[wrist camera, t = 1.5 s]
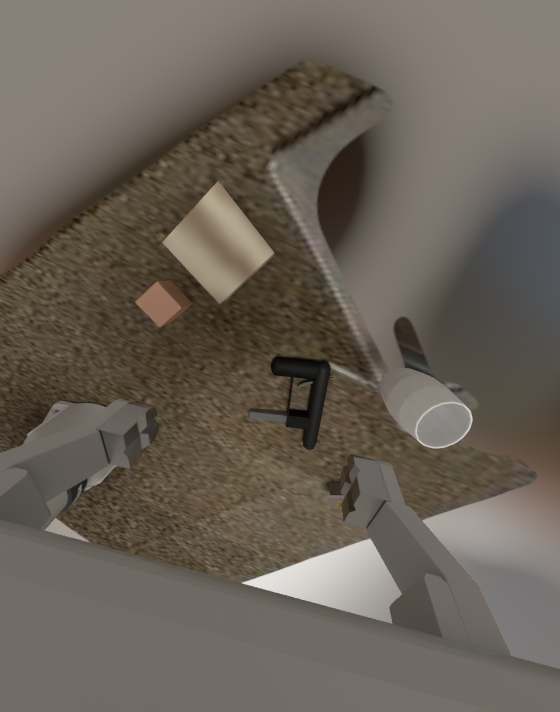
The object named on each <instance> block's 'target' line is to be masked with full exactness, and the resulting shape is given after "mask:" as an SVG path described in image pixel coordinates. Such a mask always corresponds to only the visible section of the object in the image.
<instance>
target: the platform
mask: <svg viewBox="0 0 560 712" xmlns="http://www.w3.org/2000/svg"><path fill="white" fill-rule="evenodd" d="M328 486H329V490H330V494H331V495H329V496H328V498H327V501H328V503H329V504H330V505H331V506H332V507H333V508H334V509H335V510H341V511H342V503H341V502H343V500H344V496H343V495H342V494H341V492H340V483H328ZM339 512H340V511H339ZM340 513H343V512H340Z"/></svg>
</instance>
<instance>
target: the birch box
mask: <svg viewBox="0 0 560 712" xmlns="http://www.w3.org/2000/svg"><path fill="white" fill-rule="evenodd" d="M162 243H163V244H164V245H165V246H166V247H167V248H168V249H169V250H170V252H171V253H172V254H173V255H174V256H175V257H176V258H177V259H178V260H179V261H180V262H181V263H182V264H183V265H184V267H185V268H186V269H187V270H188V271H189V272H190V273H191V274H192V275H193V276H194V277H195V278H196V279H197V280H198V282H199V283H200V284H201V285H202V286H203V287H204V288H205V289H206V290H207V291H208V292H209V293H210V294H211V295H212V297H213V298H214V299H215V300H216V301H217V302H218V303H219V304H221V303H223V302H224V301H226V300H227V299H229V298H230V297H231V296H232V295H233V294H234V293H235V292H236V291H237V290H238V289H239V288H240V287H241V286H242V285H244V284H245V283H246V282H247V281H248V280H249V279H250V278H251V277H252V276H253V275H254V274H255V273H256V272H257V271H259V270H260V269H261V268H262V267H263V266H264V265H265V264H266V263H267V262H268V261H269V260H270V259H271V258H273V257H274V252H273V250H272V249H271V248H270V247H269V245H268V244H267V243H266V241H265V240H264V239H263V238H262V236H261V235H260V234H259V232H258V231H257V230H256V229H255V227H254V226H253V225H252V224H251V222H250V221H249V220H248V218H247V217H246V216H245V215H244V213H243V212H242V211H241V209H240V208H239V207H238V206H237V204H236V203H235V202H234V200H233V199H232V198H231V197H230V195H229V194H228V193H227V191H226V190H225V189H224V188H223V186H222V185H221V184H220V183H219V181H218V182H217V183H216V184H215V185H214V186H213V187H212V188H211V189H210V190H209V192H208V193H207V194H206V195H205V196H204V197H203V198H202V199H201V200H200V201H199V203H198V204H197V205H196V206H195V207H194V208H193V209H192V210H191V211H190V212H189V214H188V215H187V216H186V217H185V218H184V219H183V220H182V221H181V222H180V224H179V225H178V226H177V227H176V228H175V229H174V230H173V231H172V232H171V233H170V235H169V236H168V237H167V238H166V239H165V240H164V241H163V242H162Z"/></svg>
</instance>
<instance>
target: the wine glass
mask: <svg viewBox="0 0 560 712" xmlns="http://www.w3.org/2000/svg"><path fill="white" fill-rule="evenodd" d="M380 391H381V396H382V398H383V401H384V403H385V405H386V407H387V409H388V411H389V413H390V414H391V415H392V416H393V418H394V419H395V420H396V421H397V422H398V423H399V424H400V425H401V427H403V428H404V429H405V430H406V431H407V432H408V433H410V434H411V435H412V436H413V437H414V438H415V439H417V440H418V441H419V442H420V443H421V444H422V445H424V446H427V447H430V448H444V447H447V446H450V445H453V444H455V443H456V442H458V441H459V440H460V439H462V438H463V437H464V436H465V435H466V434H467V432H468V431H469V430H470V427H471V423H472V415H471V411H470V410H469V409H468V408H467V407H466V406H465V405H464V404H463V403H462V402H461V401H460V400H459V399H458V398H457V397H456V396H455V395H454V394H453V393H452V392H451V391H450V390H449V389H448V388H446V387H445V386H444V385H442V384H441V383H440V382H438V381H437V380H436V379H434V378H433V377H430V376H428V375H426V374H423V373H421V372H418V371H415V370H412V369H407V368H395V369H392V370H390V371H388V372H387V373H386V374H385V375H384V376H383V378H382V379H381V381H380Z"/></svg>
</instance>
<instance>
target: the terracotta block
mask: <svg viewBox="0 0 560 712" xmlns="http://www.w3.org/2000/svg"><path fill="white" fill-rule="evenodd" d="M135 303H136V304H137V305H138V306H139V307H140V308H141V309H142V310H143V311H144V312H145V313H146V314H147V315H148V316H149V317H150V318H151V319H152V320H153V321H154V322H155V323H156V324H157V325H158V326H159V327H162V326H164V325H166V324H168V323H170V322H172V321H174V320H175V319H176V318H177V317H178V316H179V315H180V314H182V313H183V312H184V311H185V310H186V309H187V308H188V307H190V306H191V305H192V303H191V301H190V300H189V299H188V298H187V297H186V296H185V295H184V294H183V293H182V292H181V290H180V289H179V288H178V287H177V286H176V285H175V284H174V283H173V282H172V280H168V281H157V282H156V283H155V284H154V285H153V286H152V287H151V288H150V289H148V290H147V291H146V292H145V293H144V294H143V295H142V296H141V297H140V298H139V299H138V300H137V301H136V302H135Z"/></svg>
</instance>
